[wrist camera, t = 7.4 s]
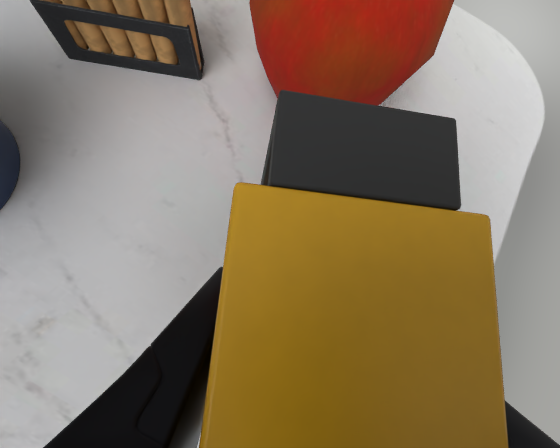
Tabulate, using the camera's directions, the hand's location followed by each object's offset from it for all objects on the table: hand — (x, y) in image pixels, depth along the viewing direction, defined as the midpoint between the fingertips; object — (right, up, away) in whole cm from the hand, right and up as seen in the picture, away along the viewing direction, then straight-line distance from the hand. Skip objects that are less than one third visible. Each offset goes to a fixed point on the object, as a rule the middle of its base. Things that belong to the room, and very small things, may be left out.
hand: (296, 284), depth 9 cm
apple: (+3, +14, +17) cm, 22 cm away
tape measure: (-1, -3, +6) cm, 7 cm away
